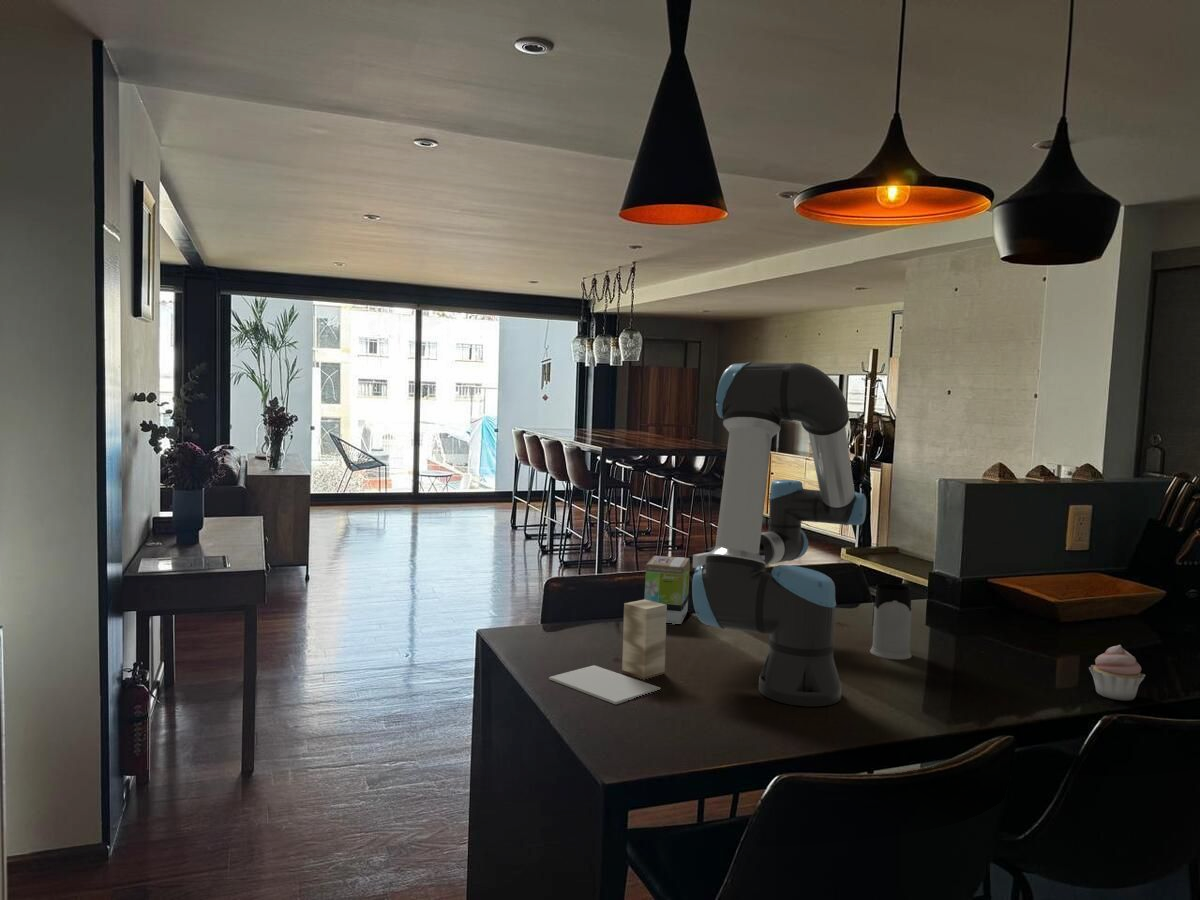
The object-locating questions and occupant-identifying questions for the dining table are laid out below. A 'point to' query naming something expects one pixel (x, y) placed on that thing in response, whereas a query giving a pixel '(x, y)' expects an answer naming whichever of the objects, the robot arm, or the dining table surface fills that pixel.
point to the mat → (604, 684)
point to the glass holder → (892, 621)
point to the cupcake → (1116, 674)
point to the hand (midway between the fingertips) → (695, 561)
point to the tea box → (669, 585)
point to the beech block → (644, 639)
